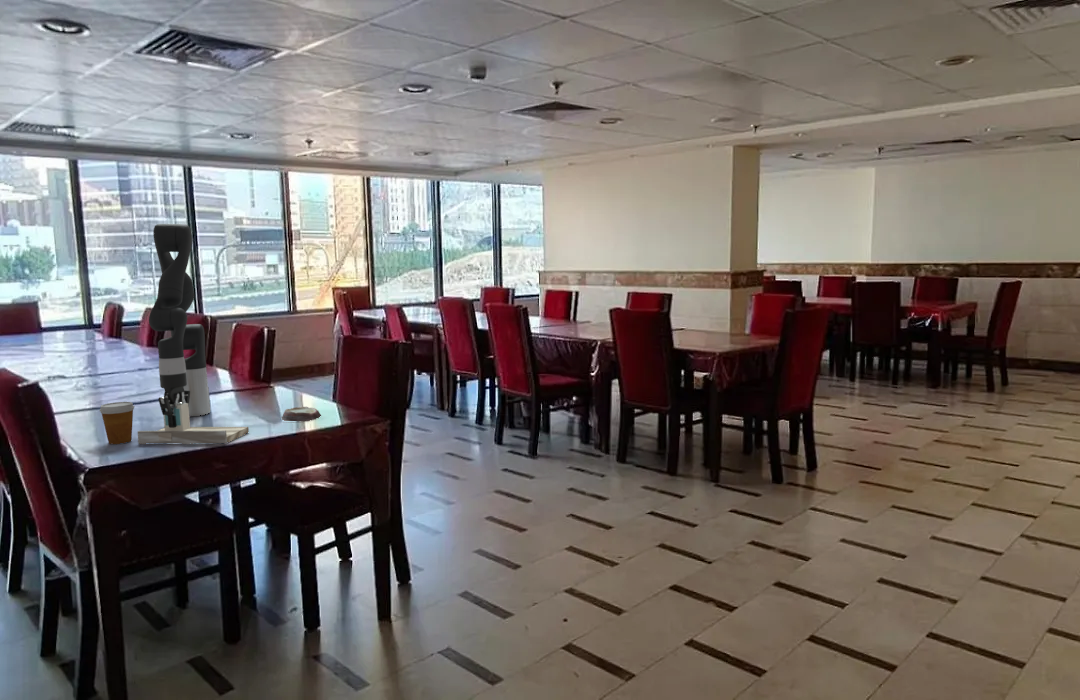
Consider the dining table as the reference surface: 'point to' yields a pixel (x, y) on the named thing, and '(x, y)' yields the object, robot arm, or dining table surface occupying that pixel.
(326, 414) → the dining table surface
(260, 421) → the dining table surface
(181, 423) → the carton
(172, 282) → the robot arm
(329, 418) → the dining table surface
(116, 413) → the disposable coffee cup
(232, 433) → the cream rectangular tray
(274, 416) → the dining table surface
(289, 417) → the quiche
